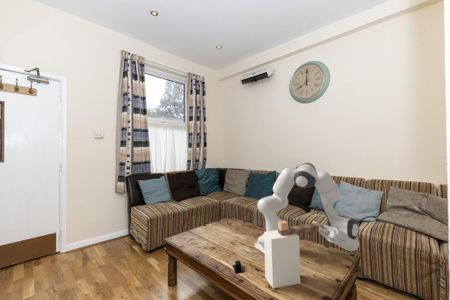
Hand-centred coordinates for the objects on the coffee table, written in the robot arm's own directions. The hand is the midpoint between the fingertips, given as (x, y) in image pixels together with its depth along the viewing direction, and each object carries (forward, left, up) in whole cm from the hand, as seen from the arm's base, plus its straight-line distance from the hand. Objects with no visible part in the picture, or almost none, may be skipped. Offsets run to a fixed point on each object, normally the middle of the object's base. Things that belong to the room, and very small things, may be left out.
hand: (315, 225), depth 121 cm
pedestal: (-9, -19, -28) cm, 35 cm away
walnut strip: (-4, -9, -2) cm, 10 cm away
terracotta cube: (-8, -19, +1) cm, 20 cm away
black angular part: (-33, -31, -29) cm, 54 cm away
